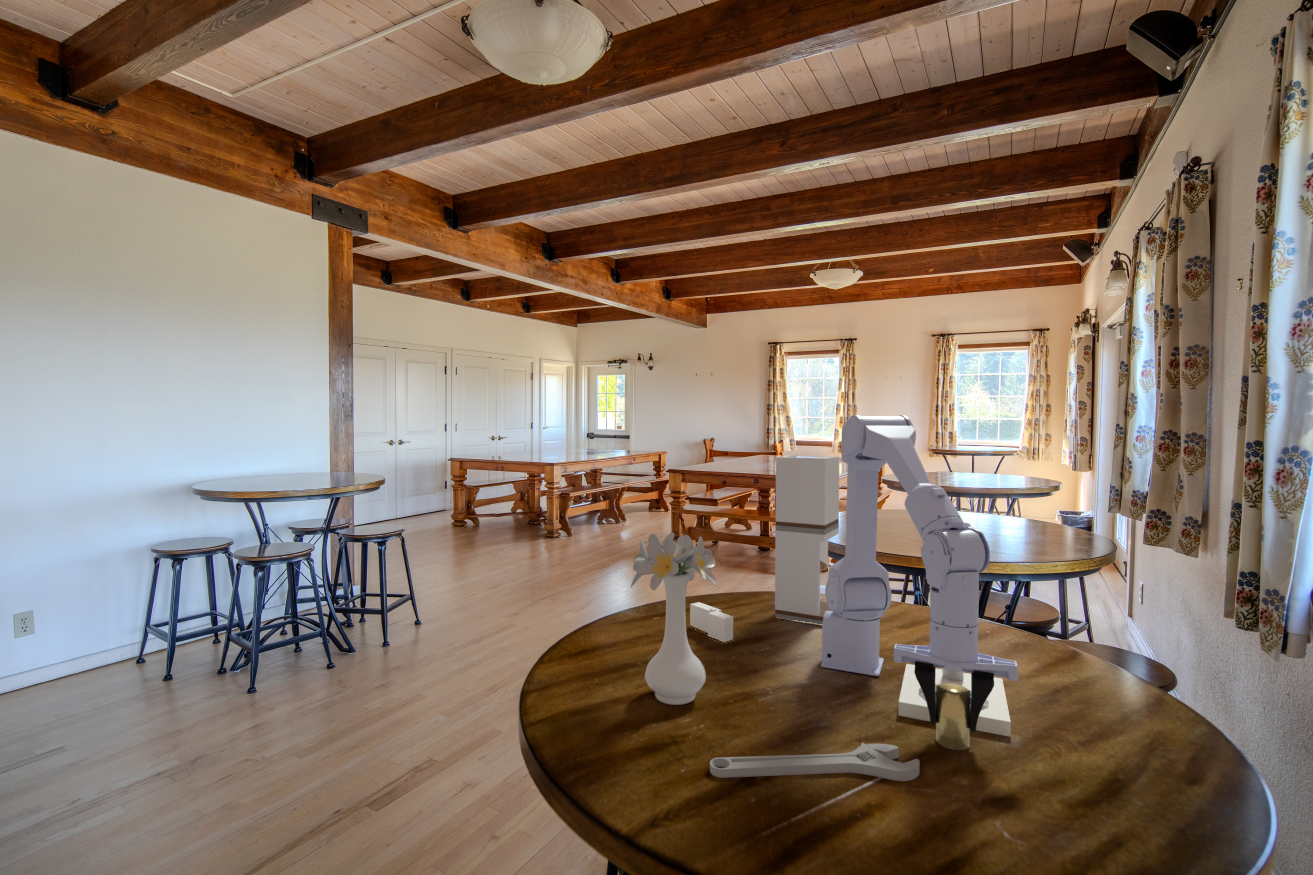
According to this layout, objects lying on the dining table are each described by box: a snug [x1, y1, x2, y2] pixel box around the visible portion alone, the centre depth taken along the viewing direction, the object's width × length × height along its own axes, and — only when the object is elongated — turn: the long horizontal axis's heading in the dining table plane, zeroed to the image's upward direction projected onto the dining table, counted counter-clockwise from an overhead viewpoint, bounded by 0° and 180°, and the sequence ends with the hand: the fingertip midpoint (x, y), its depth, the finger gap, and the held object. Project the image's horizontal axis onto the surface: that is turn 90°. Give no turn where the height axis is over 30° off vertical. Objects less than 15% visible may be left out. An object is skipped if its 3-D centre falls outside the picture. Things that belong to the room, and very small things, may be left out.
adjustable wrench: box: [709, 742, 921, 782], centre depth 76 cm, size 25×6×2 cm, turn 89°
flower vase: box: [630, 532, 718, 706], centre depth 95 cm, size 13×18×25 cm
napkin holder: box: [689, 601, 734, 642], centre depth 123 cm, size 15×11×6 cm
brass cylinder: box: [935, 683, 971, 751], centre depth 81 cm, size 4×4×7 cm
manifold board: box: [898, 663, 1012, 738], centre depth 93 cm, size 14×16×5 cm
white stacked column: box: [774, 454, 840, 624], centre depth 136 cm, size 11×11×35 cm
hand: (952, 723), depth 81 cm, fingers closed on brass cylinder, 4 cm apart
